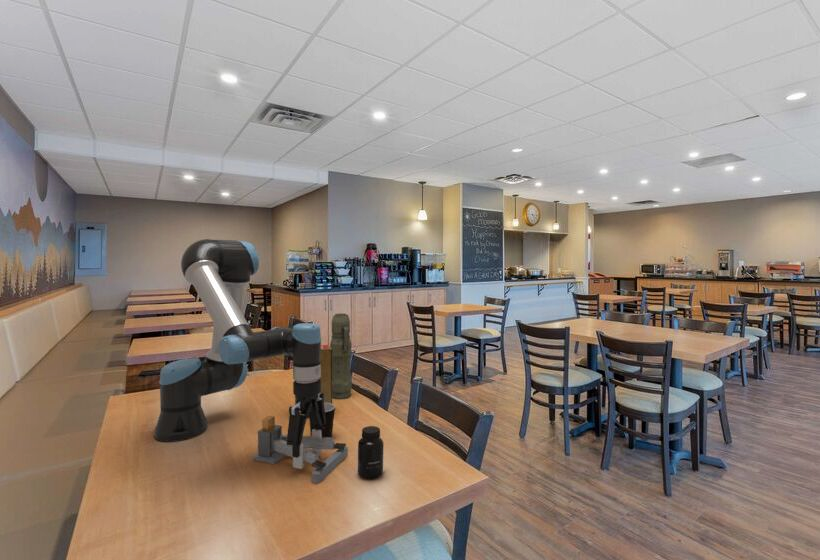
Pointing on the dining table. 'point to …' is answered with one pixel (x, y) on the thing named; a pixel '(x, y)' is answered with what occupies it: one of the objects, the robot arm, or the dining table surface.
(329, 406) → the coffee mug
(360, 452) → the supplement bottle
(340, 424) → the dining table surface
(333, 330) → the thermos
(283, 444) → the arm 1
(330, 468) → the stand
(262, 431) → the collar
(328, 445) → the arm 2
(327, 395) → the food packaging
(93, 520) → the dining table surface
